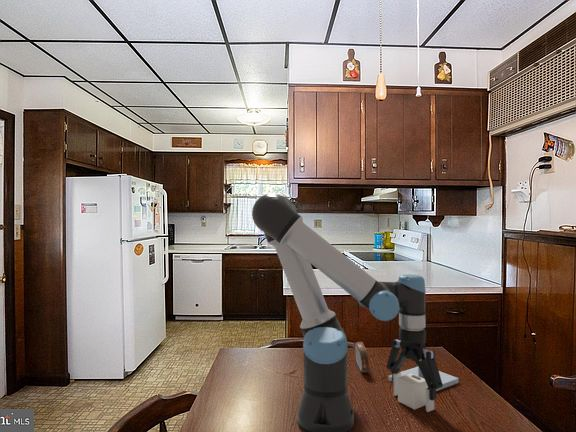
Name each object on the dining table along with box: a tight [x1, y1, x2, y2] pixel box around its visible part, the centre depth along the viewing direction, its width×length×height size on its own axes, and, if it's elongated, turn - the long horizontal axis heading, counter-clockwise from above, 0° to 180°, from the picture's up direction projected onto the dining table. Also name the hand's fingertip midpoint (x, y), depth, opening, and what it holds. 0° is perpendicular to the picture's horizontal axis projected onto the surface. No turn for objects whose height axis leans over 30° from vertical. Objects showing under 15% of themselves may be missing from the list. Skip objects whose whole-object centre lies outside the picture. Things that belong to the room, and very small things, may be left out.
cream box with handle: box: [397, 373, 428, 411], centre depth 112 cm, size 6×6×7 cm
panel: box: [387, 359, 459, 392], centre depth 126 cm, size 18×14×6 cm
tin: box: [354, 341, 370, 373], centre depth 138 cm, size 15×3×8 cm, turn 178°
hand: (413, 402), depth 111 cm, fingers open, 11 cm apart
